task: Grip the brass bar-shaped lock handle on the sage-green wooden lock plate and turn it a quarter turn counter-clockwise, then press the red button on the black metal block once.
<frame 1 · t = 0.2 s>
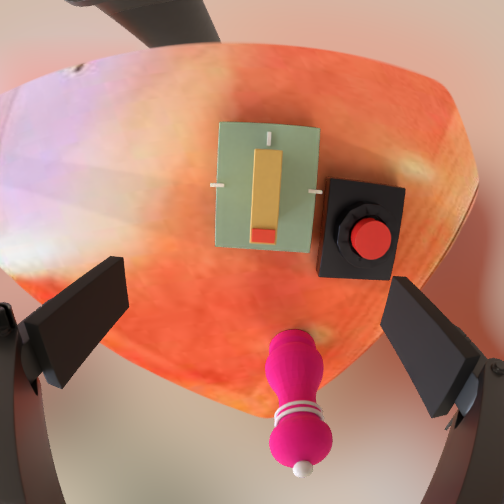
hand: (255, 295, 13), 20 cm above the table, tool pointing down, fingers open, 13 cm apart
button block: (358, 228, 32), on the table
button: (370, 238, 27), point 4 cm above the table, slide at 0.1 cm
lock plate: (266, 185, 31), on the table
lock handle: (266, 191, 24), point 7 cm above the table, hinge at 0.0°
pepper mill: (292, 346, 37), on the table
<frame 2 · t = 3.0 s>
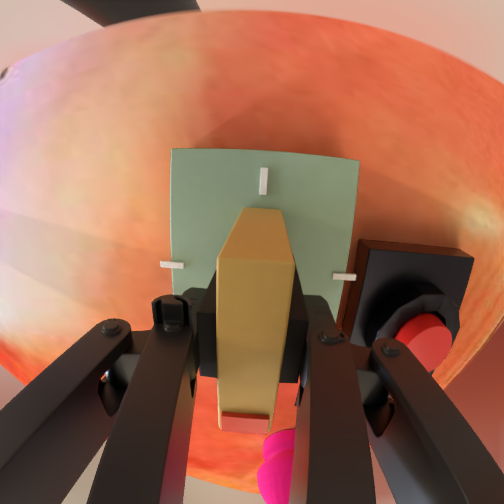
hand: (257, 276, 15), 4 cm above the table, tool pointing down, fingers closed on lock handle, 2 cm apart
button block: (398, 312, 20), on the table
button: (422, 345, 15), point 4 cm above the table, slide at 0.1 cm
lock plate: (259, 253, 19), on the table
lock handle: (254, 307, 12), point 7 cm above the table, hinge at -0.1°, touching gripper
pepper mill: (292, 442, 25), on the table
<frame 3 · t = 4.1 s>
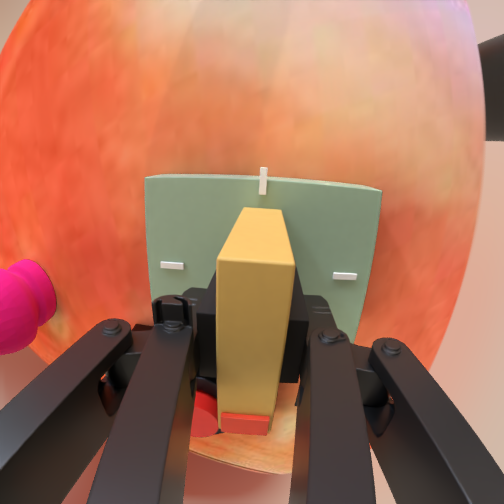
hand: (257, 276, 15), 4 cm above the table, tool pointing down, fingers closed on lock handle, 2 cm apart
button block: (204, 375, 22), on the table
button: (193, 413, 18), point 4 cm above the table, slide at 0.1 cm
lock plate: (259, 253, 19), on the table
lock handle: (254, 307, 12), point 7 cm above the table, hinge at 89.4°, touching gripper
pepper mill: (36, 288, 21), on the table
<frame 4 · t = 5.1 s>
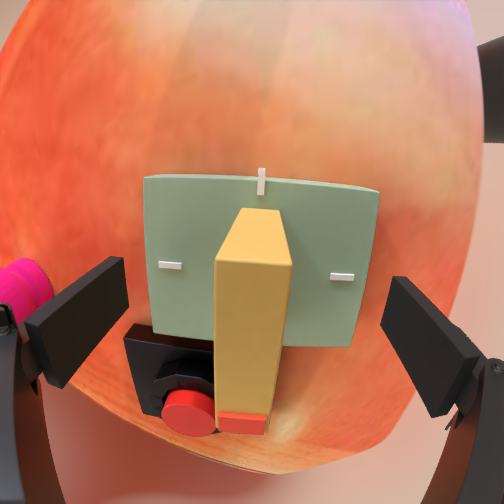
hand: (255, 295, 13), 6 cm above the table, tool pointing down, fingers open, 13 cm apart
button block: (201, 374, 22), on the table
button: (190, 413, 18), point 4 cm above the table, slide at 0.1 cm
lock plate: (257, 254, 19), on the table
lock handle: (252, 307, 12), point 7 cm above the table, hinge at 89.4°
pepper mill: (34, 287, 21), on the table
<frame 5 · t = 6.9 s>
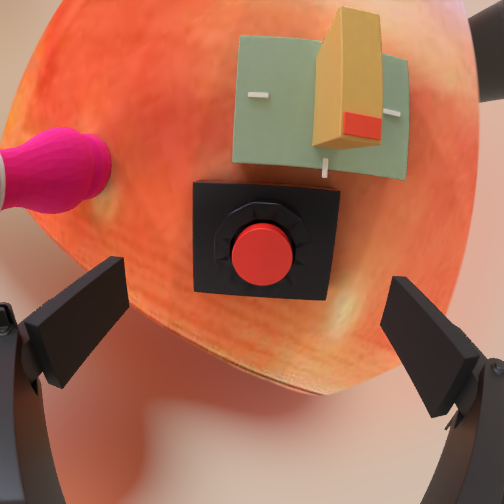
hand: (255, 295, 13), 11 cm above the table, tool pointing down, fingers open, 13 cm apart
button block: (263, 236, 24), on the table
button: (262, 253, 20), point 4 cm above the table, slide at 0.1 cm
lock plate: (321, 108, 20), on the table
lock handle: (342, 87, 13), point 7 cm above the table, hinge at 89.4°
pepper mill: (87, 166, 23), on the table
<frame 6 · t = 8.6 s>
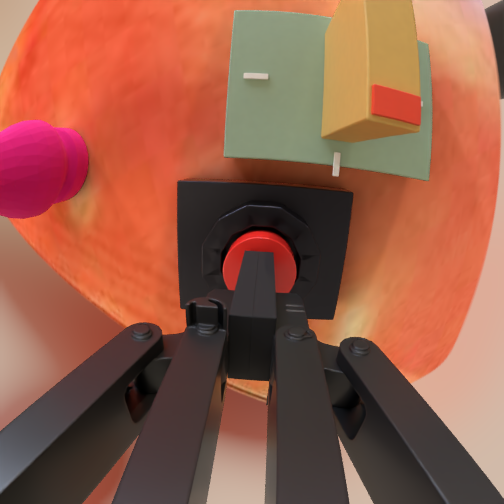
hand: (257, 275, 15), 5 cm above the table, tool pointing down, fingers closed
button block: (261, 245, 20), on the table
button: (259, 267, 16), point 4 cm above the table, slide at 0.0 cm, touching gripper
lock plate: (329, 95, 17), on the table
lock handle: (360, 64, 10), point 7 cm above the table, hinge at 89.4°
pepper mill: (63, 164, 19), on the table
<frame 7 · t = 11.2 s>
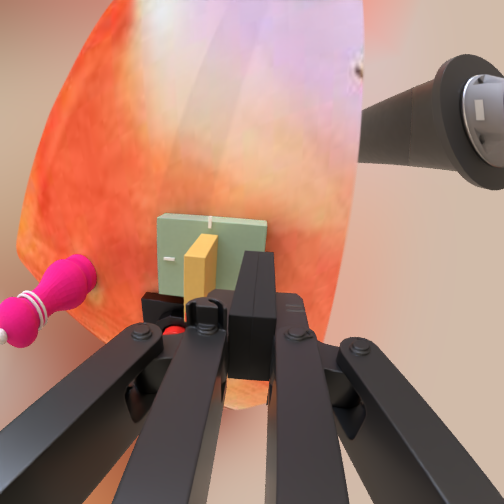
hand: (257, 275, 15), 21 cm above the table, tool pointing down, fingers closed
button block: (183, 323, 40), on the table
button: (176, 340, 36), point 4 cm above the table, slide at 0.1 cm
lock plate: (212, 254, 37), on the table
lock handle: (201, 275, 30), point 7 cm above the table, hinge at 89.4°
pepper mill: (81, 272, 39), on the table
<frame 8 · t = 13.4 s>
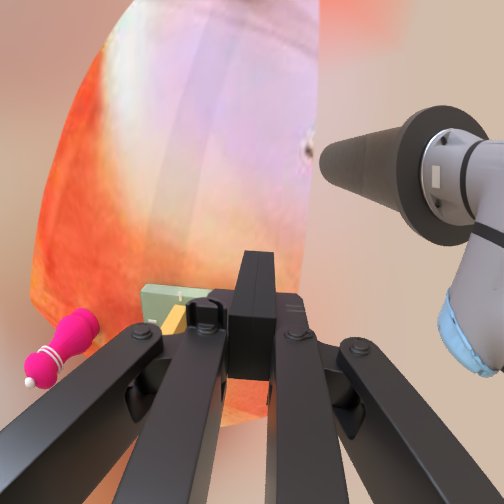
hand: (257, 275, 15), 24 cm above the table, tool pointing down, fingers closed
lock plate: (187, 315, 44), on the table
lock handle: (174, 340, 38), point 7 cm above the table, hinge at 89.4°
pepper mill: (86, 321, 47), on the table
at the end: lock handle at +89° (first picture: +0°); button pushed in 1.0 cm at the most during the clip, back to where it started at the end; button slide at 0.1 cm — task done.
